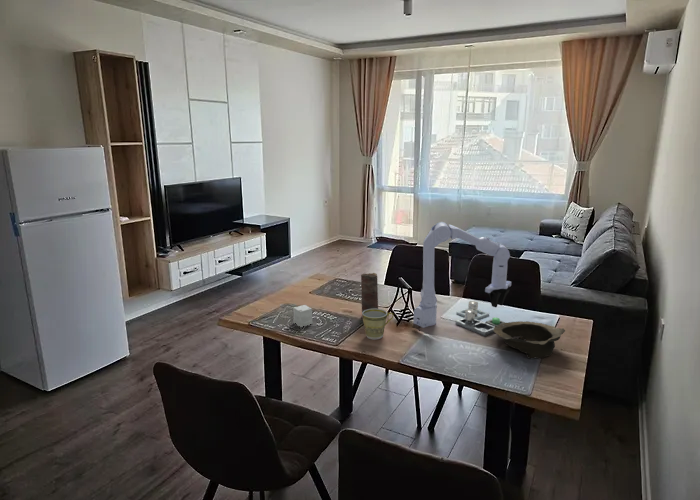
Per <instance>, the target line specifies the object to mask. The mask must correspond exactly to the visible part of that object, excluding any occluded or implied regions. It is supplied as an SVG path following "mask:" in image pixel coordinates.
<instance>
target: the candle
mask: <svg viewBox="0 0 700 500" xmlns="http://www.w3.org/2000/svg"><path fill="white" fill-rule="evenodd" d="M360 278H361V279H360V283H361V284H360V285H361V286H360V287H361V289H360V290H361V313H362V312H363V311H364V310H367V309H379V292H378V287H379V286H378V274H377V273H375V272H373V273H361V274H360Z"/></svg>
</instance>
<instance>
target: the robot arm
mask: <svg viewBox="0 0 700 500" xmlns="http://www.w3.org/2000/svg"><path fill="white" fill-rule="evenodd" d="M449 239H450V240H454V239H460V240H463V241H464V242H466V243H469V244H471V245H474V246H475V248H476V250H477V251H479V252H482V253H484V254H486V255H488V256H490V257H493V259H492V260H493V261H492V271H491V272H492V273H491V283H490V284H488V286H486V287H485V289H484V292H485V293H487V294H488V296H489V298H490V299H489V300H490V303H491V304H490V305H491V307H493V308H497V307H498V305H499V306H503V305H504V302H505V300H506V297H507V296H508V294H509V293H510V287H511V286H512V281H510V280H507V278H508V275H507V274H508V262H509V259H510V257H511V254H510V250H509V249H508V248H507V247H506V246H505V245H504V244H503V243H500V242H497V241H496V242H495V241H494V240H491V238H490V237H488V236H481V237H477V236H476V235H473V234H471V233H469V232H468V231H466V230H463V229H462V228H460V227H457V226H455V225H452V224H450V223H449V224H447V222H444V221H439V222H437V223H435V224H433V226H432V227H431V228H430V231H429V232H428V234H427V235H426V236H425V238H424V239H423V244H422V245H423V246H422V251H423V253H422V260H423V261H422V265H423V267H422V288H421V290H420V298H421V300H420V301H419V305H418V306H417V307H415V308H414V309H413V324H414V325H416V326H418V327H421V328H427V327H431V326H434V325H437V311H438V310H437V307H438V306H437V305H438V303H437V302H438V299H437V295H436V291H435V248H436V247H437V246H439V245H440V244H441V243H445V242H447V241H448V240H449Z"/></svg>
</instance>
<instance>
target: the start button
mask: <svg viewBox="0 0 700 500" xmlns="http://www.w3.org/2000/svg"><path fill="white" fill-rule="evenodd" d="M491 320H492V323H493V324H496V325H498V324H500V321H501V319H500V318H499V317H492V319H491Z"/></svg>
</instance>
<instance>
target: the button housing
mask: <svg viewBox="0 0 700 500" xmlns="http://www.w3.org/2000/svg"><path fill="white" fill-rule="evenodd" d="M484 323H487V324H490V325H492V326H497V325H496V324H493V323H492V319H489V320H486V321H484ZM502 323H507V322H506V321H503V320H500V324H502ZM500 324H498V325H500Z"/></svg>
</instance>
